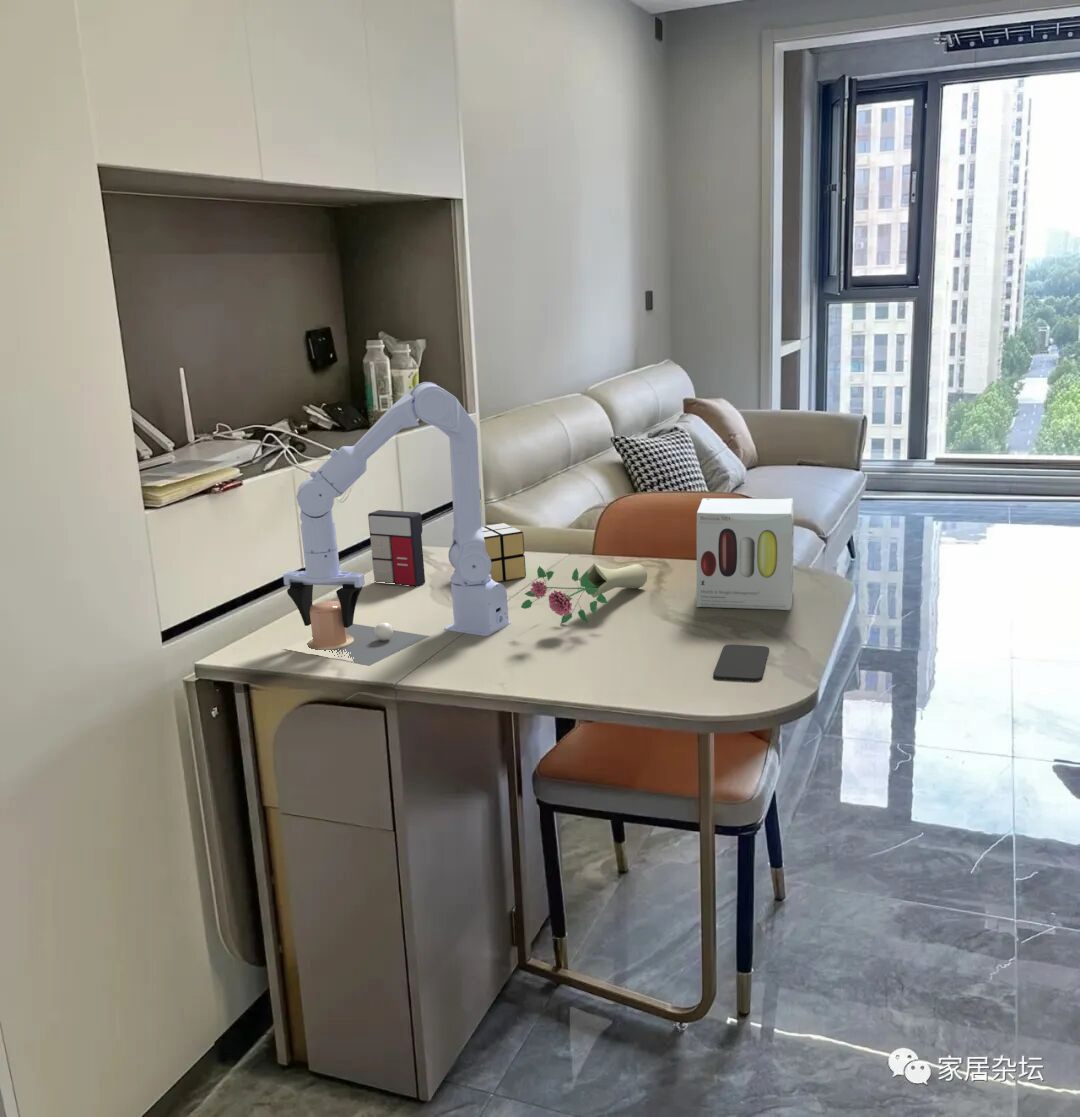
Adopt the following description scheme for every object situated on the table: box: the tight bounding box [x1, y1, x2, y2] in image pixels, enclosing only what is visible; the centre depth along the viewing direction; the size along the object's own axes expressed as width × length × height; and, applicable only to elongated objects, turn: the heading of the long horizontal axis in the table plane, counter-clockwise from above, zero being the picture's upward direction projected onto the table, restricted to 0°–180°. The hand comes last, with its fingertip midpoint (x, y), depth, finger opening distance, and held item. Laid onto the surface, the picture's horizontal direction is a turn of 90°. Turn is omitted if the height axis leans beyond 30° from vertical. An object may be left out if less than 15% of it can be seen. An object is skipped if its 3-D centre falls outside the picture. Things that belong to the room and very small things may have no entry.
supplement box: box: [696, 497, 795, 611], centre depth 198 cm, size 17×13×18 cm
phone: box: [712, 643, 770, 683], centre depth 168 cm, size 7×1×15 cm
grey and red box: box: [367, 509, 426, 588], centre depth 222 cm, size 11×4×15 cm, turn 62°
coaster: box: [307, 635, 354, 651], centre depth 188 cm, size 8×8×1 cm
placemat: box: [329, 623, 430, 667], centre depth 187 cm, size 20×16×1 cm
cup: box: [310, 600, 347, 647], centre depth 187 cm, size 6×6×6 cm
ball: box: [374, 622, 394, 641], centre depth 187 cm, size 3×3×3 cm
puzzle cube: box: [481, 522, 527, 583], centre depth 224 cm, size 10×10×10 cm
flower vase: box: [520, 562, 648, 624], centre depth 197 cm, size 12×12×35 cm
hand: (328, 625), depth 187 cm, fingers open, 7 cm apart
